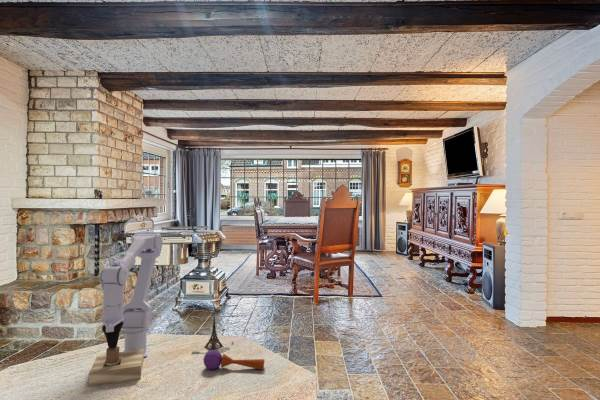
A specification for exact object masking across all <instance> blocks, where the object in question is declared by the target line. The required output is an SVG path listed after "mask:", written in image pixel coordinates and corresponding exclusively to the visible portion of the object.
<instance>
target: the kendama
mask: <svg viewBox="0 0 600 400" xmlns="http://www.w3.org/2000/svg"><path fill="white" fill-rule="evenodd" d="M206 352H207V353H206ZM206 352H205V355H204V357H203V365H204V367H206V369H208V370H211V371H212V370H216V369H218V368H219V367H220V368H224V367H227V366H229V365H232V364H235V365H239V366H243V367H247V368H251V369H252V368H253V369H256V370H260V369H261V370H260V371H263V370H264V368H265V359H263V358H261V359H260V358H259V359H257V358H256V359H255V358H254V359H250V358H249V359H233V358H232V357H230V356H228V355H227V354H225V353H223V354H222V353H220V352H219V351H217V350H208V351H206Z"/></svg>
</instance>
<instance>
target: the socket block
mask: <svg viewBox="0 0 600 400" xmlns="http://www.w3.org/2000/svg"><path fill="white" fill-rule="evenodd" d="M143 354H144V349H141V350H133V351H125V352H124V351H119V365H117V366H109V367H106V353H102V354H97V355H96V358H95V360H94V362H93V364H92V366H91V369H90V370H89V373H88V375H89V378H88V383H89V384H88V387H94V386H101V385H107V384H113V383H120V382H128V381H134V380H139V379H140V380H141V379H142V373H143V372H142V371H143V366H144V357H143Z"/></svg>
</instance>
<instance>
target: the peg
mask: <svg viewBox="0 0 600 400" xmlns="http://www.w3.org/2000/svg"><path fill="white" fill-rule="evenodd" d="M119 352H120V346H116V348H109V347H107V348H106V353H105V354H106V367H109V366H117V365H119Z"/></svg>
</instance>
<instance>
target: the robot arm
mask: <svg viewBox="0 0 600 400" xmlns="http://www.w3.org/2000/svg"><path fill="white" fill-rule="evenodd" d="M130 243H131V244H130V245H129V247H128V249H126V251H124V252H121V253H120V254H119V255H118V256H117V257H116V258H115V259H114V261H112V263H111V264H110V265H107V266H105V267H103V268H102V269H101V270H100V273H99V276H98V278H99V279H98V280H99V284H100V289H101V290H102V294H103V295H102V296H103V297H102V318H99V319H98V323H102V324H103V326H102V327H101V331H102V332H103V334H104V336H105V338H106V343H107V348H116V346H117V345H118V343H119V338H120V333H121V330H122V332H124V347H123V348H124V350H123V352H125V351H133V350H141V349H144V354H143V358H145V357H146V358H147V356H148V352H149V345H148V344H147V342H148V341H147V336H148V335H147V334H148V333H147V331H148V330H147V329H149V328H150V327H151V325H152V322H153V310H154V309H153V307H152V306H151V304H149V303H148V302H147V301H148V296H149V291H150V288H151V282H152V278H153V273H154V268H155V263H156V259H157V258H159V257H160V256H161V253H162V247H163V236H162V234H161V233H159V232H157V233H149V232H148V233H145V232H144V233H143V232H141V233H139V232H136V233H134V234H133V235H132V236H131V241H130ZM137 257H138V258H140V260H141V261H140V264H139V265H140V266H139V269H138V273H137V278H136V282H135V287H134V290H133V291H134V292H133V295H132V299H131V301H129V302H128V303H127V304H125V305H124V297H125V296H124V295H125V294H124V293H125V292H124V289H125V286H124V285H125V284H126V282H127V281H128V276H129V275H130V274H129V273H130V270H132V268H133V267H134V265H136V260H137V259H136V258H137Z"/></svg>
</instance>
